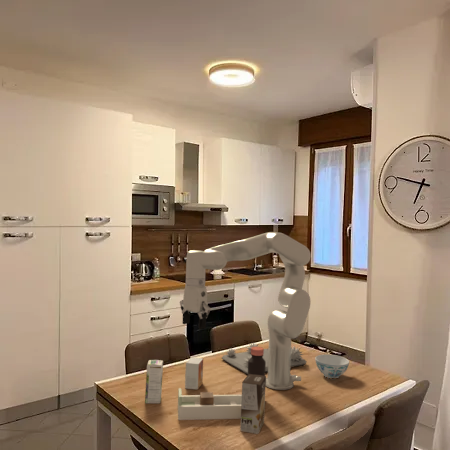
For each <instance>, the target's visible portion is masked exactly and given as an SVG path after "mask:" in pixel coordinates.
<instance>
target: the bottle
mask: <svg viewBox="0 0 450 450" xmlns="http://www.w3.org/2000/svg"><path fill="white" fill-rule="evenodd" d="M264 349H265V348H263V347H261V346H259V347H258V346H257V347H252V348H251V356H252V357H251V358H250V359H249V360H248V374H253V375H254V374H255V375H262V376H266V372H265V365H266V362H265V360H264V359H263V354H264ZM248 374H247V375H248Z"/></svg>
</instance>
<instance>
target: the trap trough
mask: <svg viewBox="0 0 450 450" xmlns="http://www.w3.org/2000/svg"><path fill="white" fill-rule="evenodd" d="M177 390H178V392H177V393H178V394H177V420H178V421H189V420H190V421H191V420H192V421H193V420H198V421H199V420H234V419H235V420H237V419H240V420H241V402H242V394H213V396H214V404H213V405H200V394H195V395H194V394H193V395H187V394H186V395H183V393H182V388H181V387H178V389H177Z"/></svg>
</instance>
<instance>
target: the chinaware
mask: <svg viewBox="0 0 450 450" xmlns="http://www.w3.org/2000/svg"><path fill="white" fill-rule="evenodd" d="M314 359H315V360H314V361H315V363H316V367H317V369H318V370H319V371H320V373H321V374H323V377H324V376H325V378H326V377H328V378H327V379H329V378H338V379H339V378H340V376H342V375H344V374H345V373H346V372H347V369H348V368H349V364H350V361H349V359H347V358H346V357H344V356H341V355H336V354H319V355H316V356H315V358H314Z"/></svg>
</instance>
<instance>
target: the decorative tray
mask: <svg viewBox="0 0 450 450" xmlns="http://www.w3.org/2000/svg"><path fill="white" fill-rule="evenodd" d="M248 345H249V346H248ZM248 345H247V347H246V351H243V352H236V350H235V349H234V348H232V347H231V348H228V350H226V354H223V355H222V356H221V359H222V360H223V361H224V362H226V363H227V364H229V365H231V366H233V367H235V368H236V369H238V370H240V371H242V372H243V373H245V374H247V375H248V360H249V359H250V358H251V357H252V356H251V348H252V347H260V346H259V343H258V344H257V342H255V343H254V342H253V343H252V342H251V343H248ZM263 349H264V354H263V359H264V360H265V362H266V365H265V373H268V352H269V347H268V348H263ZM300 349H301V348H299V347H297V348H296V346H295V345H293V346H291V366H290V368H294V366H295V367H300V366H304V365H306V364H307V361H306V360H305V359H304V358H303V357H302V356H303V355H304V353H303V352H304V351H301V350H300Z"/></svg>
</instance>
